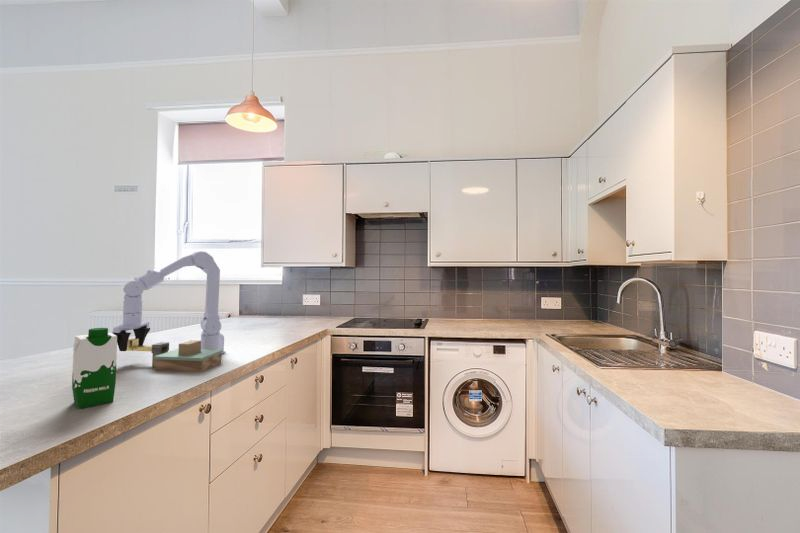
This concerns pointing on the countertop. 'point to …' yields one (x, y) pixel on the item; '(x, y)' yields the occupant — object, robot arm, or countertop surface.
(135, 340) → the wooden block
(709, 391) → the countertop surface
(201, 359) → the lid
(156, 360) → the wooden box
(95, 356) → the milk carton
